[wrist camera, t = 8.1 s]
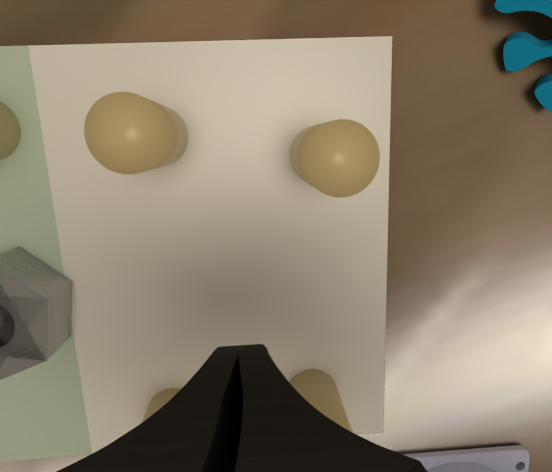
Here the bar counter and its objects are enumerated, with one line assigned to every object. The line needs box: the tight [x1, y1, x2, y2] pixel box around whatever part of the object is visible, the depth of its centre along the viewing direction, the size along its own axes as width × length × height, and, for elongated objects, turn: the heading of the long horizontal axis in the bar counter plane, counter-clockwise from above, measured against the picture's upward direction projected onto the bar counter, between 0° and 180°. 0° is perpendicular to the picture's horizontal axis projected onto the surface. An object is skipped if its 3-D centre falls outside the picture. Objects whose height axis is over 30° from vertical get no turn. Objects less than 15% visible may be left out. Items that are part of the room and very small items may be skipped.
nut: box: [0, 246, 73, 380], centre depth 17 cm, size 4×5×2 cm
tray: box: [0, 36, 392, 462], centre depth 16 cm, size 18×20×6 cm
